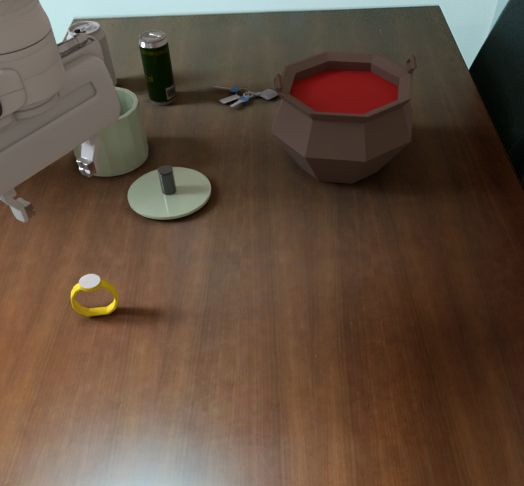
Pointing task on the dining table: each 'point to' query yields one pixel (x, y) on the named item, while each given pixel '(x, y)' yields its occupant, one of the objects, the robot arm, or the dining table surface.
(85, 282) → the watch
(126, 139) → the pot
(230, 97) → the key chain
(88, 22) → the can
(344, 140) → the brown cauldron
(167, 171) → the lid
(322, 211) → the dining table surface
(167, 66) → the beer can
